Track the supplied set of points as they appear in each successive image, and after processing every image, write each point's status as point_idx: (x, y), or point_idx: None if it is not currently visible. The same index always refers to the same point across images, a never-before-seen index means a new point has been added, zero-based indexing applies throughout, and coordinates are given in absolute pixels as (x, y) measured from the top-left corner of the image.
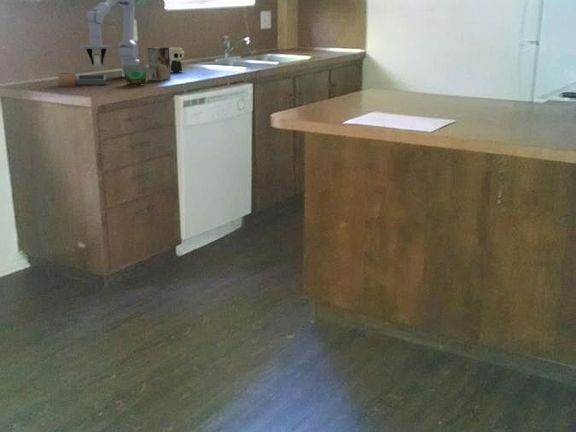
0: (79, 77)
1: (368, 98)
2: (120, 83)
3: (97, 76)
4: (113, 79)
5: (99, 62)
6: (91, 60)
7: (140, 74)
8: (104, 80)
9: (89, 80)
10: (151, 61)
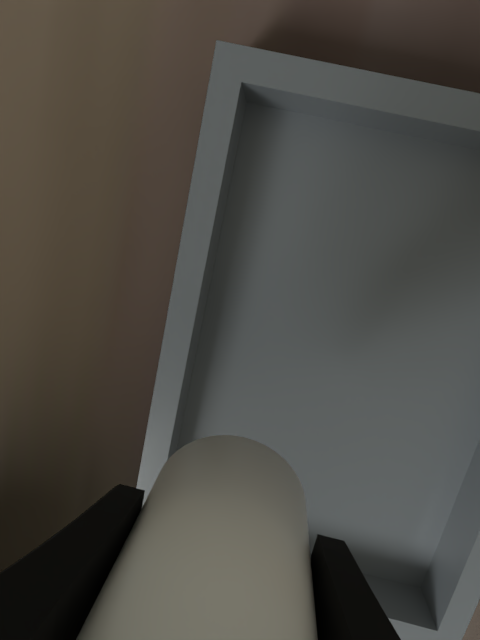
0: (431, 601)
1: None
2: (35, 145)
3: None
4: (68, 505)
5: (176, 505)
6: (378, 614)
7: None
8: (234, 48)
9: (459, 91)
10: None
